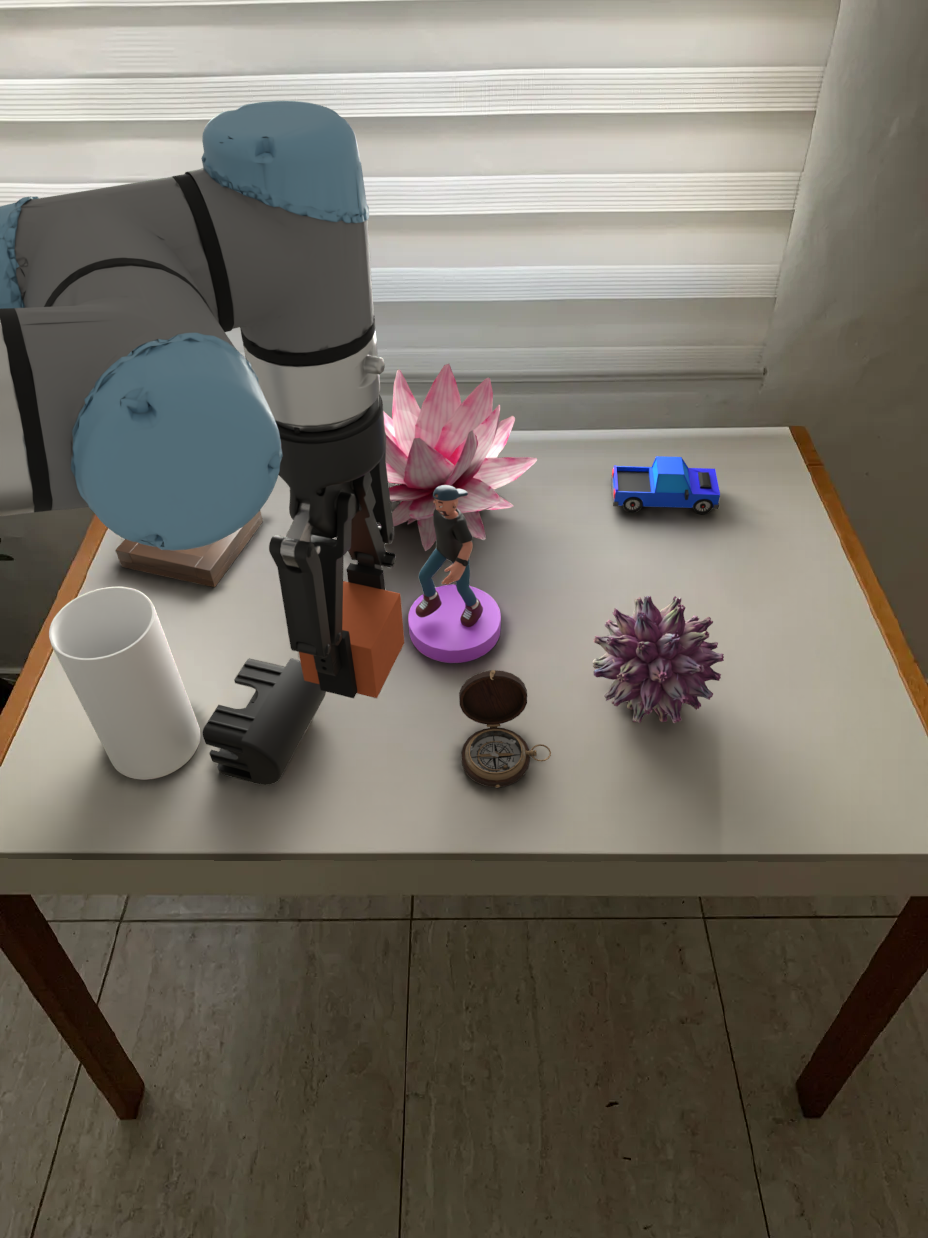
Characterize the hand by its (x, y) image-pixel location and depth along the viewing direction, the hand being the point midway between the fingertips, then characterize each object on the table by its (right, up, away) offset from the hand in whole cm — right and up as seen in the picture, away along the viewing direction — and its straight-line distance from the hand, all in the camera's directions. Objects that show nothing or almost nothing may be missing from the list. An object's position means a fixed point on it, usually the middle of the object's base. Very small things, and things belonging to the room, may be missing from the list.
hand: (356, 658), depth 71 cm
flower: (+26, -5, +16) cm, 31 cm away
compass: (+12, -9, +12) cm, 19 cm away
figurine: (+7, +2, +23) cm, 24 cm away
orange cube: (0, 0, 0) cm, 0 cm away
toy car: (+32, +17, +36) cm, 51 cm away
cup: (-20, -8, +13) cm, 25 cm away
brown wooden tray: (-22, +12, +33) cm, 41 cm away
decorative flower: (+5, +16, +36) cm, 40 cm away
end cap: (-9, -8, +13) cm, 18 cm away
